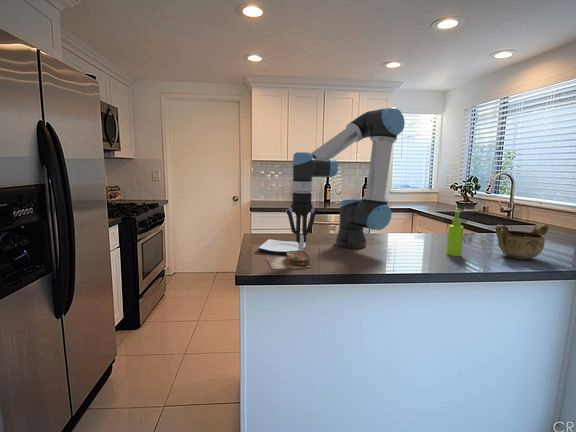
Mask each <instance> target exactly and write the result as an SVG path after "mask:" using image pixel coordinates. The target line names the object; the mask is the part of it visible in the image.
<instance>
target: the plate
mask: <svg viewBox="0 0 576 432" xmlns="http://www.w3.org/2000/svg"><path fill="white" fill-rule="evenodd" d="M305 248H306V243H304V249H305ZM258 250H259V251H262V252H266V253H270V254H277V255H278V254H279V255H286V252H288V251H299V250H298V243H297V242H296V241H287V240H286V241H285V240H276V239H267V240H266V241H265V242H263V243H262V244H261V245H260V246H259V247H258Z"/></svg>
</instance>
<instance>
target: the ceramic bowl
mask: <svg viewBox="0 0 576 432" xmlns="http://www.w3.org/2000/svg"><path fill="white" fill-rule="evenodd" d="M548 230H549V226H548V224H545V223H544V224H543V223H538V224H536V225H535V226H534V227H533V229H532V231H527V230H526V231H523V230H515V229H509V228H508V227H507V225H504V224H496V226H495V233H496V237H497V241H498V242H497V243H498V247H499V249H500V250H501V252H502V253H503V254H504V255H506V256H507V257H510V258H512V259H516V260H530V259H532V258H535V257H537V256H539V255H541V254H542V252H543V250H544V247H545V244H546V243H545V236H546V234H547V233H548Z"/></svg>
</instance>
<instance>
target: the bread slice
mask: <svg viewBox="0 0 576 432" xmlns="http://www.w3.org/2000/svg"><path fill="white" fill-rule="evenodd" d="M285 255H286V256H285V257H286V258H287V260H288V262H289V263H290V264H291V265H293V266H307V265H309V266H310V263H311V257H310V256H309V255H308V253H306V252H305V251H288V252H286V254H285Z"/></svg>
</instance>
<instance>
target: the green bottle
mask: <svg viewBox="0 0 576 432" xmlns="http://www.w3.org/2000/svg"><path fill="white" fill-rule="evenodd" d="M454 213H455V214H454V216H453V218H452V223H451V224H449V225H448V234H447V244H446V245H447V246H446V254H447V255H448V256H451V257H461V256H462V247H463V237H464V229H465V228H464V226H463V225H461V223H462V218H461V217H460V215H461V214H460V213H461V210H459V209H457V210H456V209H455V210H454Z"/></svg>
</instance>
